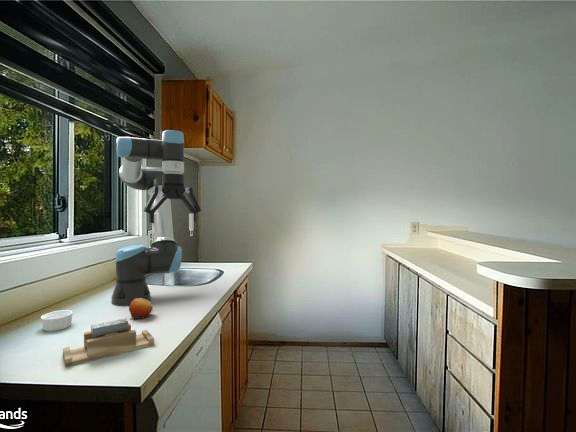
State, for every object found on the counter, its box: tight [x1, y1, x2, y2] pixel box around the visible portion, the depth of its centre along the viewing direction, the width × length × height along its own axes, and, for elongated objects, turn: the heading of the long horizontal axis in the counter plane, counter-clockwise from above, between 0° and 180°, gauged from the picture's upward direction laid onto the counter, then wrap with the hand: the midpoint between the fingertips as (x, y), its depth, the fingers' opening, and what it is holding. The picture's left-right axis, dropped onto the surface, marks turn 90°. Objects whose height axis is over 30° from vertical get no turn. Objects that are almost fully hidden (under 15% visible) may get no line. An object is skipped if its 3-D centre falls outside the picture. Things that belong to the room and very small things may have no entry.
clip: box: [90, 318, 129, 339], centre depth 94 cm, size 3×9×6 cm, turn 128°
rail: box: [62, 322, 155, 368], centre depth 94 cm, size 8×22×5 cm, turn 128°
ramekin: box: [40, 309, 73, 332], centre depth 111 cm, size 9×9×4 cm
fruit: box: [128, 298, 154, 321], centre depth 120 cm, size 8×8×8 cm
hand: (173, 231), depth 121 cm, fingers open, 13 cm apart
